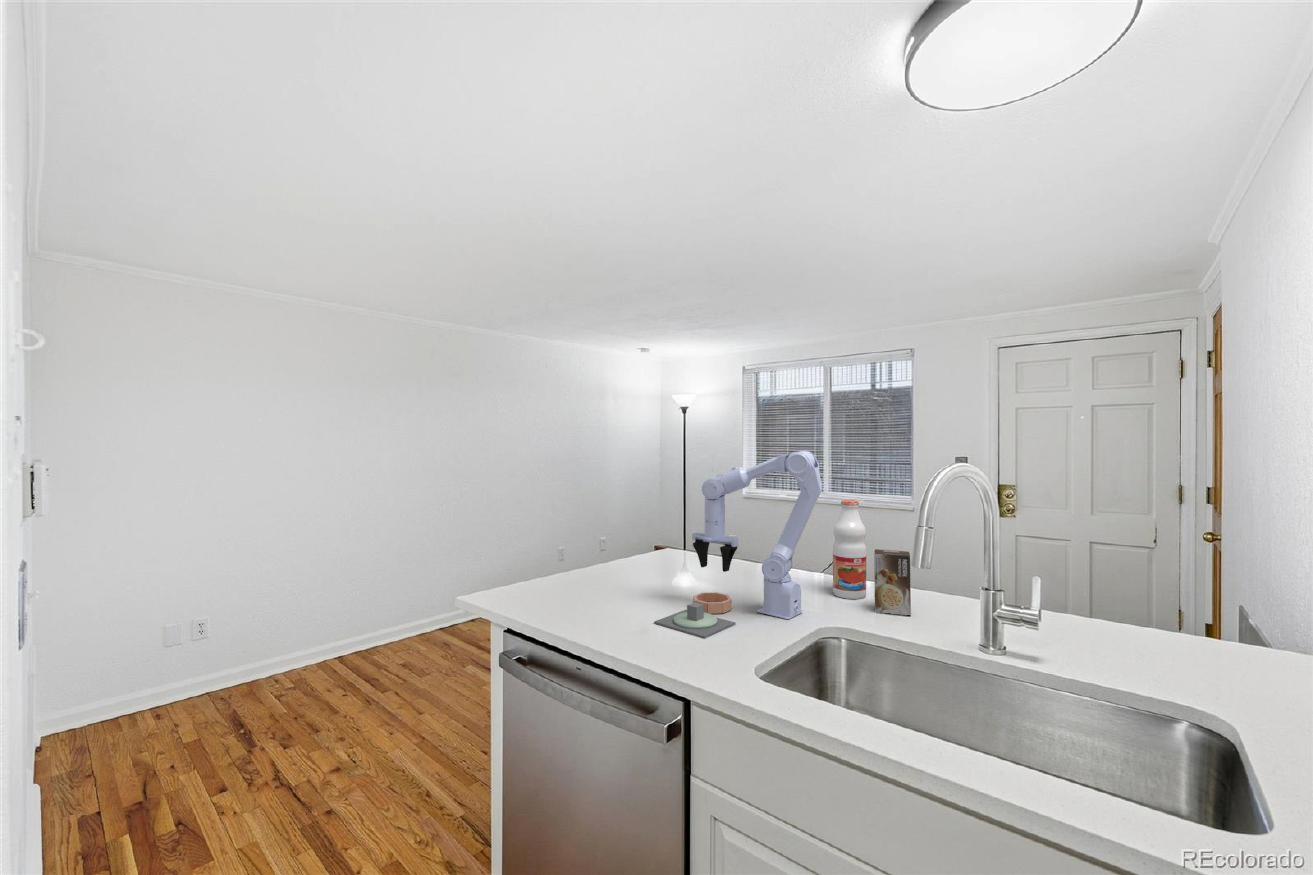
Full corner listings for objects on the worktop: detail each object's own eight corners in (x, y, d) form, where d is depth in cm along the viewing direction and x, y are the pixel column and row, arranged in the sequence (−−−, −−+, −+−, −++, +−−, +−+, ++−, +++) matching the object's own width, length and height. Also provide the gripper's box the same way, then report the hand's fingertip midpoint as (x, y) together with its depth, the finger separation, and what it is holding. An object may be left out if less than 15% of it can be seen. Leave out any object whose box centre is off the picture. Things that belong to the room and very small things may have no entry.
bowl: (737, 608, 162) (737, 597, 162) (716, 617, 155) (716, 605, 155) (708, 600, 169) (708, 590, 169) (686, 609, 161) (686, 598, 161)
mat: (735, 624, 149) (735, 622, 149) (704, 638, 139) (704, 636, 139) (685, 611, 159) (685, 609, 159) (654, 623, 150) (654, 621, 150)
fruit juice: (857, 590, 179) (858, 498, 179) (871, 599, 170) (872, 502, 169) (827, 591, 178) (828, 498, 178) (840, 600, 169) (840, 503, 169)
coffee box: (910, 609, 160) (910, 551, 160) (911, 617, 154) (911, 556, 154) (874, 606, 164) (874, 548, 163) (873, 613, 158) (874, 553, 157)
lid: (725, 620, 150) (725, 603, 150) (700, 632, 142) (699, 614, 142) (691, 612, 157) (691, 595, 157) (664, 622, 149) (664, 605, 149)
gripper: (685, 519, 167) (685, 567, 168) (728, 525, 158) (728, 575, 158) (700, 516, 173) (700, 562, 173) (742, 522, 163) (742, 571, 163)
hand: (714, 568), depth 166 cm, fingers open, 7 cm apart
